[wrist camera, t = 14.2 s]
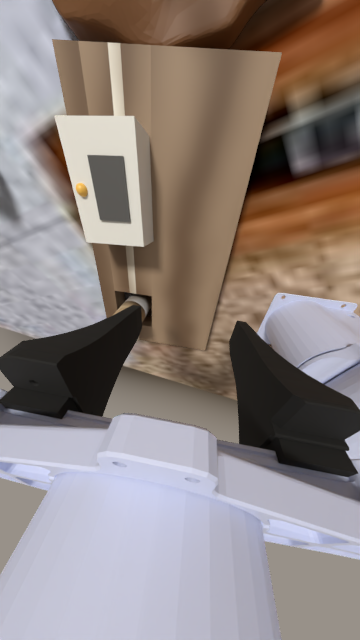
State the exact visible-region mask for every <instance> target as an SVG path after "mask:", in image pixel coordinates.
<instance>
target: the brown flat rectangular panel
mask: <svg viewBox="0 0 360 640" xmlns="http://www.w3.org/2000/svg"><path fill="white" fill-rule="evenodd" d="M52 41H53V46H54V52H55V57H56V62H57V67H58V72H59V77H60V82H61V87H62V92H63V97H64V102H65V108H66V113H67V116H135V118H136V119H137V120H138V122H139V123H140V124H141V126H142V127H143V128H144V130H145V131H146V132H147V134H148V135H149V140H150V165H151V189H152V214H153V238H154V241H153V242H152V243H150V244H148V245H146V246H144V247H140V246H127V245H114V244H102V243H92V245H93V250H94V255H95V260H96V265H97V270H98V276H99V281H100V286H101V291H102V296H103V301H104V306H105V311H106V316H107V318H109V317H111V316H112V315H113V314H114V313H115V312H116V311H117V310H118V309H119V308H120V306H121V305H122V304H123V303H124V302H125V293H124V292H128V293H134V294H141V295H148V296H152V316H147V315H146V317H145V319H144V320H143V322H142V329H141V332H140V335H139V337H138V340H145V341H151V342H157V343H163V344H169V345H175V346H181V347H187V348H193V349H199V350H205V349H206V345H207V341H208V337H209V333H210V329H211V325H212V321H213V318H214V314H215V310H216V306H217V302H218V298H219V294H220V290H221V287H222V283H223V279H224V275H225V271H226V267H227V263H228V259H229V256H230V252H231V248H232V244H233V240H234V236H235V232H236V229H237V225H238V221H239V217H240V213H241V209H242V205H243V201H244V198H245V194H246V190H247V186H248V182H249V178H250V174H251V170H252V167H253V163H254V159H255V155H256V151H257V147H258V143H259V139H260V136H261V132H262V128H263V124H264V120H265V116H266V112H267V108H268V105H269V101H270V97H271V93H272V89H273V85H274V81H275V77H276V74H277V70H278V66H279V62H280V58H281V54H282V53H281V52H264V51H246V50H229V49H211V48H194V47H176V46H159V45H142V44H124V43H109V42H89V41H72V40H54V39H52Z"/></svg>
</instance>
